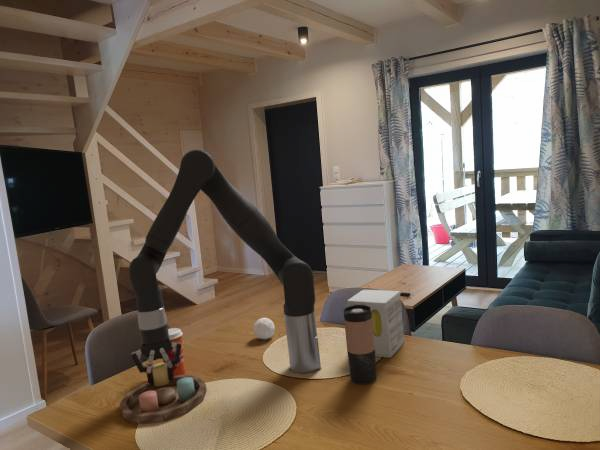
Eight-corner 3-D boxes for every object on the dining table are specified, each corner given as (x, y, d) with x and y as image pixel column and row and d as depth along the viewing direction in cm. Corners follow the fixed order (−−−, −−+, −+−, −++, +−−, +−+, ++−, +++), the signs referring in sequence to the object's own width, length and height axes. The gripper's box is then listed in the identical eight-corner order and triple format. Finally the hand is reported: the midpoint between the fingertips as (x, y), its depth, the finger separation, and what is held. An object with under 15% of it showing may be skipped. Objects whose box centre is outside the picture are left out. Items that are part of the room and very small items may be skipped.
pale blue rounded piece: (197, 393, 125) (194, 376, 124) (193, 401, 121) (191, 383, 120) (181, 395, 125) (178, 378, 124) (177, 403, 121) (174, 385, 120)
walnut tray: (212, 381, 134) (211, 371, 134) (196, 421, 112) (195, 410, 112) (138, 389, 134) (137, 379, 133) (109, 431, 112) (107, 420, 112)
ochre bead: (170, 383, 127) (167, 366, 126) (153, 387, 125) (151, 370, 125) (168, 377, 131) (166, 361, 131) (153, 381, 130) (150, 365, 129)
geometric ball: (260, 345, 166) (250, 326, 169) (279, 334, 167) (269, 315, 170) (258, 342, 159) (247, 322, 162) (278, 330, 160) (267, 311, 163)
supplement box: (351, 353, 143) (345, 300, 141) (367, 338, 154) (362, 288, 152) (390, 358, 136) (386, 302, 134) (405, 342, 147) (400, 290, 145)
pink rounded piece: (161, 407, 119) (158, 389, 119) (156, 416, 115) (153, 397, 114) (144, 409, 119) (141, 391, 119) (139, 418, 115) (136, 399, 114)
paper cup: (181, 379, 137) (175, 335, 136) (158, 380, 139) (151, 336, 137) (192, 368, 145) (186, 326, 143) (170, 368, 146) (164, 327, 145)
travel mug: (380, 373, 127) (374, 305, 125) (373, 386, 120) (366, 314, 118) (354, 371, 130) (348, 304, 128) (346, 383, 123) (339, 313, 121)
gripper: (126, 333, 120) (135, 394, 122) (180, 322, 125) (188, 380, 127) (126, 325, 127) (134, 383, 129) (177, 315, 132) (185, 370, 134)
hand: (161, 381), depth 128 cm, fingers closed on ochre bead, 4 cm apart
